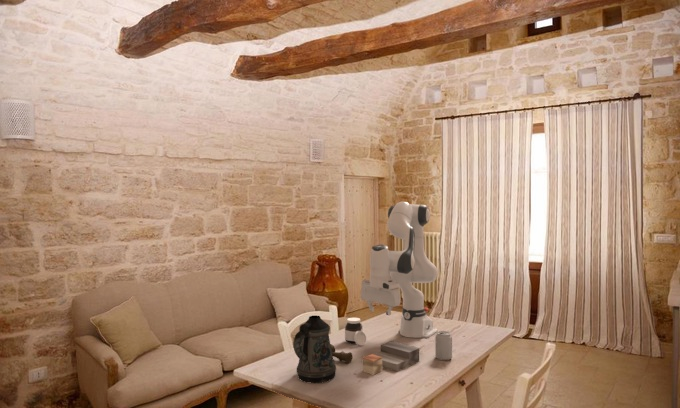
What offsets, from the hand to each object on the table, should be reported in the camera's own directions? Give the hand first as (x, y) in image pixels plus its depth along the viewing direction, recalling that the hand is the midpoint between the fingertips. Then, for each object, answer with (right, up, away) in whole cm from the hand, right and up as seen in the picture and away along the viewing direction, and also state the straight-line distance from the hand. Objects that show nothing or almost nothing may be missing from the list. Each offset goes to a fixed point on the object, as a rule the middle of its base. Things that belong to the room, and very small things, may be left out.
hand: (379, 312), depth 211 cm
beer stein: (-28, -24, -13) cm, 39 cm away
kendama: (-21, -24, +8) cm, 33 cm away
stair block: (+7, -23, +4) cm, 24 cm away
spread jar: (-9, -23, +32) cm, 41 cm away
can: (+30, -23, +9) cm, 39 cm away
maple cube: (-4, -18, -7) cm, 19 cm away
